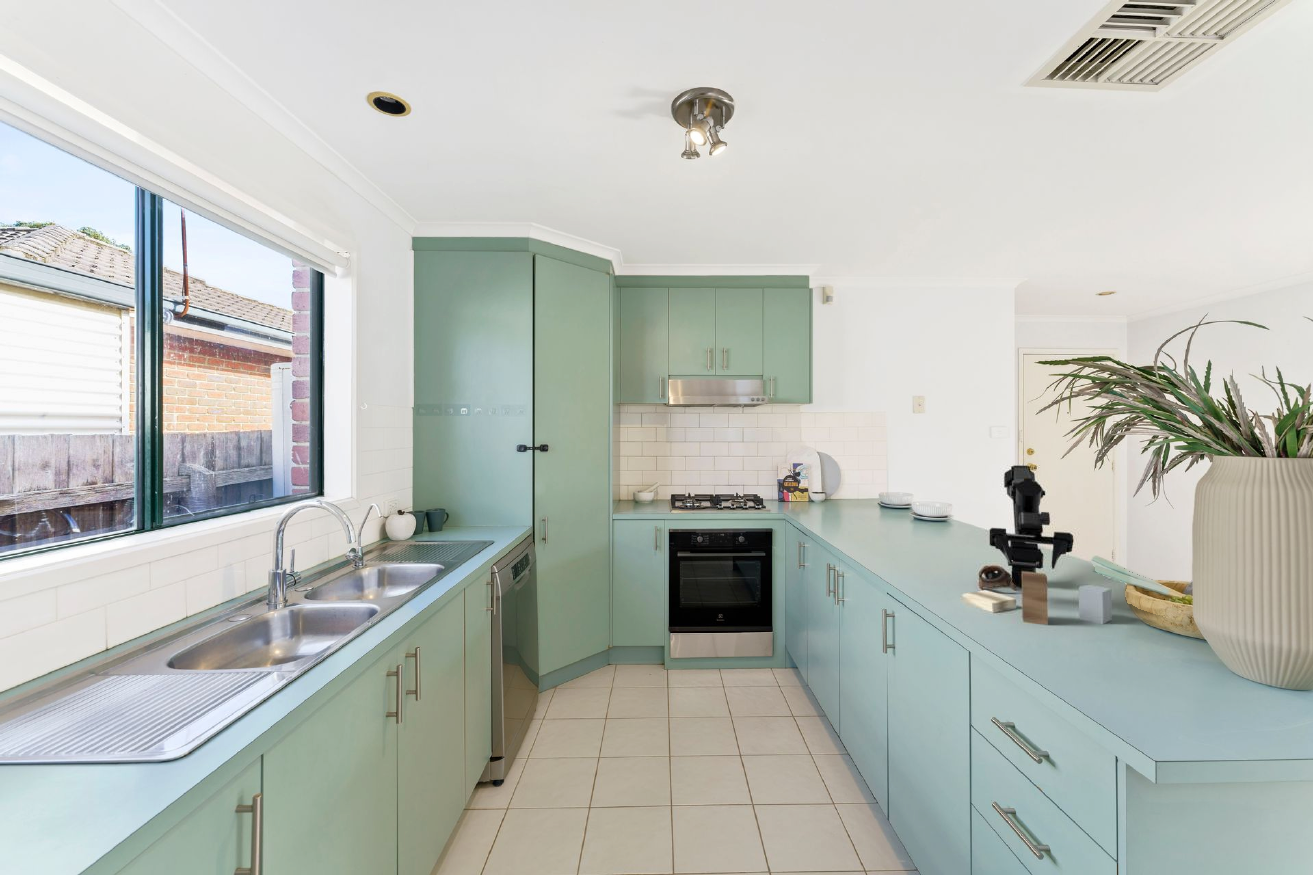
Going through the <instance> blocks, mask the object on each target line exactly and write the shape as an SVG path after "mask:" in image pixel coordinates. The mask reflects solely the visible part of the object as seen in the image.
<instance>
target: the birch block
mask: <svg viewBox="0 0 1313 875" xmlns="http://www.w3.org/2000/svg"><path fill="white" fill-rule="evenodd" d="M962 603H963V604H964V605H967V604H968V606H971V607H973V606H974V608H976V607H977V608H976V609H979V608H981V609H980V610H982V609H983V610H984V611H985V610H987V611H986V612H988V611H989V612H988V613H992V614H993V613H998V611H1000V612H1004V611H1003V610H1005V611H1009V610H1014V609H1017V598H1015V597H1012V596H1011V597H1010V596H1007V595H1004V594H1002V593H1001V594H1000V593H998V592H994V591H991V590H987V589H984V590H983V589H982V590H978V591H972V592H971V591H970V592H966V593H962Z"/></svg>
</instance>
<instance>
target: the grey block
mask: <svg viewBox="0 0 1313 875" xmlns="http://www.w3.org/2000/svg"><path fill="white" fill-rule="evenodd" d="M1112 609H1113V608H1112V589H1111V588H1108V587H1102V586H1098V585H1094V584H1093V585H1092V584H1085V585H1081V586H1079V587H1078V618H1079V619H1081V620H1085V621H1088V622H1092V621H1093V623H1096V624H1100V623H1102V624H1101V625H1104V624H1106V622H1107V621H1109V622H1110V620H1111V619H1112V620H1113V616H1112V615H1113V614H1112V611H1113V610H1112ZM1112 620H1111V621H1112ZM1103 623H1104V624H1103ZM1107 623H1108V622H1107Z"/></svg>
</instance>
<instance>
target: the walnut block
mask: <svg viewBox="0 0 1313 875" xmlns="http://www.w3.org/2000/svg"><path fill="white" fill-rule="evenodd" d="M1021 606H1022V607H1021V609H1022V610H1021V615H1022V616H1021V617H1022V621H1023V623H1028V624H1036V625H1043V626H1049V619H1048V618H1049V617H1048V614H1049V613H1048V577H1047V574H1046V573H1043V572H1036V573H1034V572H1024V571H1022V588H1021Z"/></svg>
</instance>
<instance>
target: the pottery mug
mask: <svg viewBox="0 0 1313 875" xmlns="http://www.w3.org/2000/svg"><path fill="white" fill-rule="evenodd" d="M983 575H984V577H983ZM978 586H979V589H981V590H980V591H983V589H984V588H986V589H988V588H990V589H994V588H998V587H999V588H1000V587H1006V588H1007V587H1009V588H1010V589H1012V591H1016V586H1015V585H1014V583H1013V582H1012V577H1011V574H1010V572H1008V571H1007V570H1005V568H1004V567H1002V566H1000V565H996V564H995V565H993V564H992V565H985V566H982V568H981V569H980V570H979V571H978Z"/></svg>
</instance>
